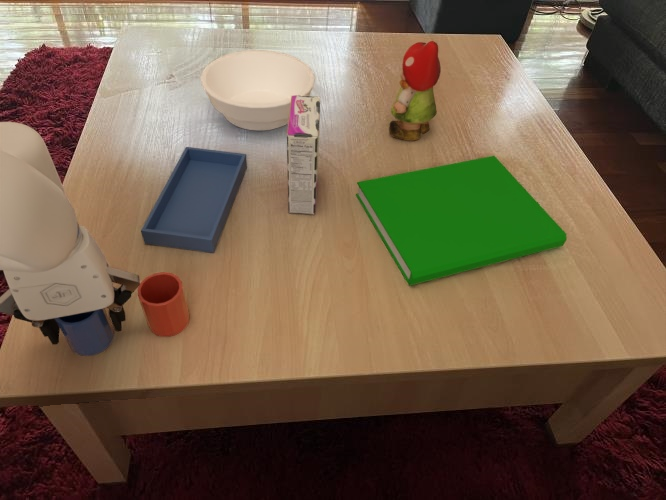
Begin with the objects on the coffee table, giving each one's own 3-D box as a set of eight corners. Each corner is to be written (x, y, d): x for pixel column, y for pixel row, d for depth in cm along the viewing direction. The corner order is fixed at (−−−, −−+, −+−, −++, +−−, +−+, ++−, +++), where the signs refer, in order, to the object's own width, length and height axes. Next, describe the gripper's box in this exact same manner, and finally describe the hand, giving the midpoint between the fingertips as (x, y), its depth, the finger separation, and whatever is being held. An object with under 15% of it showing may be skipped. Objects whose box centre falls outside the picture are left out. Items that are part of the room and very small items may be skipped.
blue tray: (213, 253, 82) (211, 239, 80) (144, 244, 83) (140, 230, 81) (247, 167, 98) (246, 153, 96) (188, 159, 98) (185, 146, 96)
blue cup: (104, 358, 69) (88, 328, 64) (62, 352, 69) (44, 321, 64) (121, 323, 73) (108, 292, 67) (81, 318, 73) (65, 286, 68)
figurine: (397, 113, 113) (413, 20, 99) (436, 123, 111) (458, 30, 97) (382, 140, 106) (396, 44, 92) (423, 151, 104) (444, 55, 90)
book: (355, 194, 94) (357, 181, 92) (489, 168, 102) (494, 155, 100) (410, 288, 80) (413, 275, 78) (561, 248, 88) (568, 236, 85)
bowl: (329, 133, 107) (331, 96, 101) (219, 153, 100) (215, 115, 94) (293, 79, 121) (293, 43, 115) (195, 93, 114) (190, 56, 108)
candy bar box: (290, 173, 97) (290, 93, 85) (317, 175, 97) (321, 95, 85) (286, 214, 89) (285, 133, 78) (315, 216, 90) (319, 135, 78)
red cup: (182, 339, 71) (173, 308, 66) (142, 333, 72) (130, 302, 67) (194, 306, 75) (187, 275, 70) (156, 301, 75) (146, 269, 70)
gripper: (-57, 275, 52) (12, 368, 65) (127, 244, 56) (158, 338, 69) (-44, 223, 57) (18, 320, 70) (125, 199, 61) (154, 294, 74)
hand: (87, 328), depth 69 cm, fingers open, 7 cm apart
